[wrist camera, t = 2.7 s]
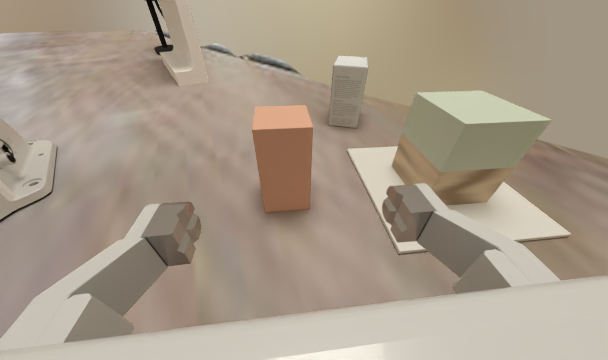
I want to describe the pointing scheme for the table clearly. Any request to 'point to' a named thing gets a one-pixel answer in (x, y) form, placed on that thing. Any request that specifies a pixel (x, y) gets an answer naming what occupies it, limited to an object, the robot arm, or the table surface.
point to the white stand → (182, 44)
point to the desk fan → (158, 28)
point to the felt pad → (493, 214)
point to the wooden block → (447, 177)
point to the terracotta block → (283, 156)
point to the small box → (347, 90)
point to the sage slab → (471, 130)
